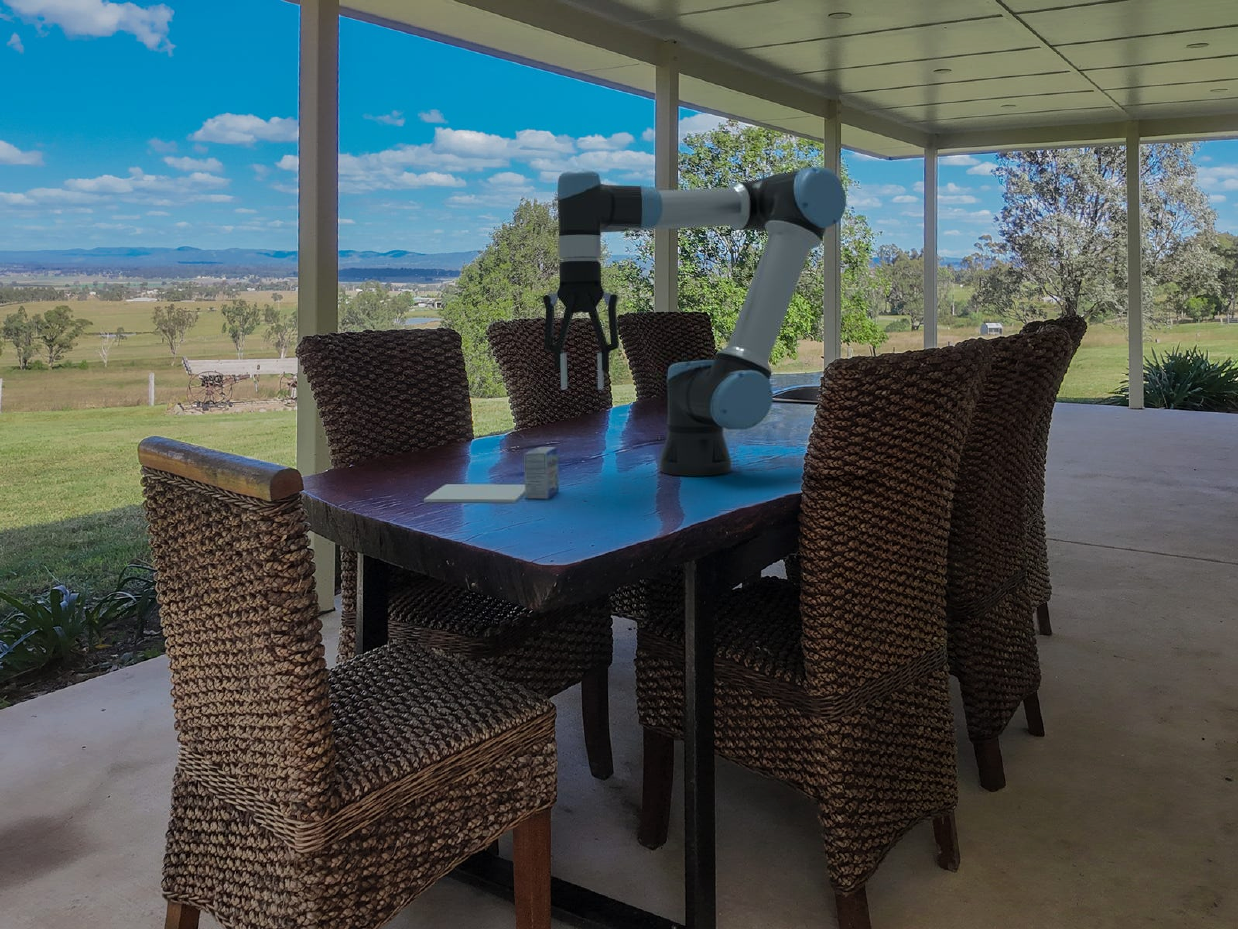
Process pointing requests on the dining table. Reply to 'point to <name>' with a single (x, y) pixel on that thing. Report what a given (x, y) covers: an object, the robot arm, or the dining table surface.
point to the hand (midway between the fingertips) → (582, 388)
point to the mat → (477, 493)
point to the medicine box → (541, 473)
